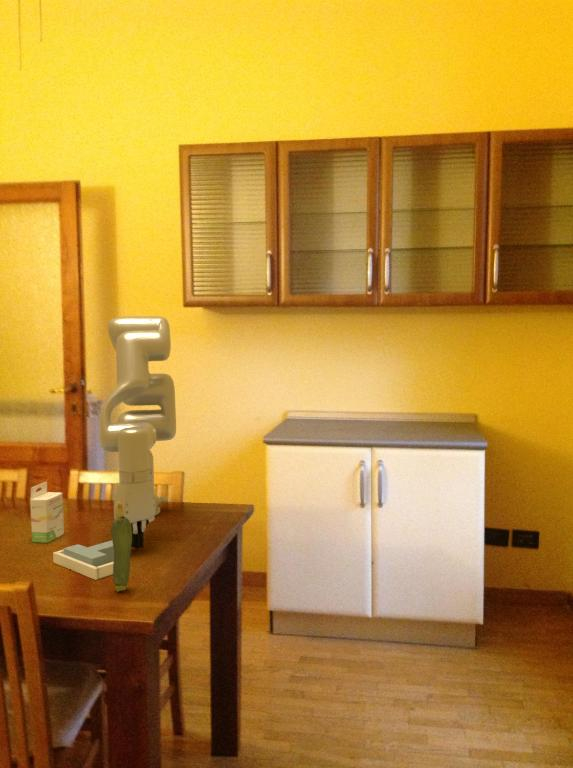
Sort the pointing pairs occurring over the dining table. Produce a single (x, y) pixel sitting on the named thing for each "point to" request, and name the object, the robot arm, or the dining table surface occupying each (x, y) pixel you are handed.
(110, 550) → the t block
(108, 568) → the dock
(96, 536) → the dining table surface
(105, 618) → the dining table surface
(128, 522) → the vegetable
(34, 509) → the ink box
